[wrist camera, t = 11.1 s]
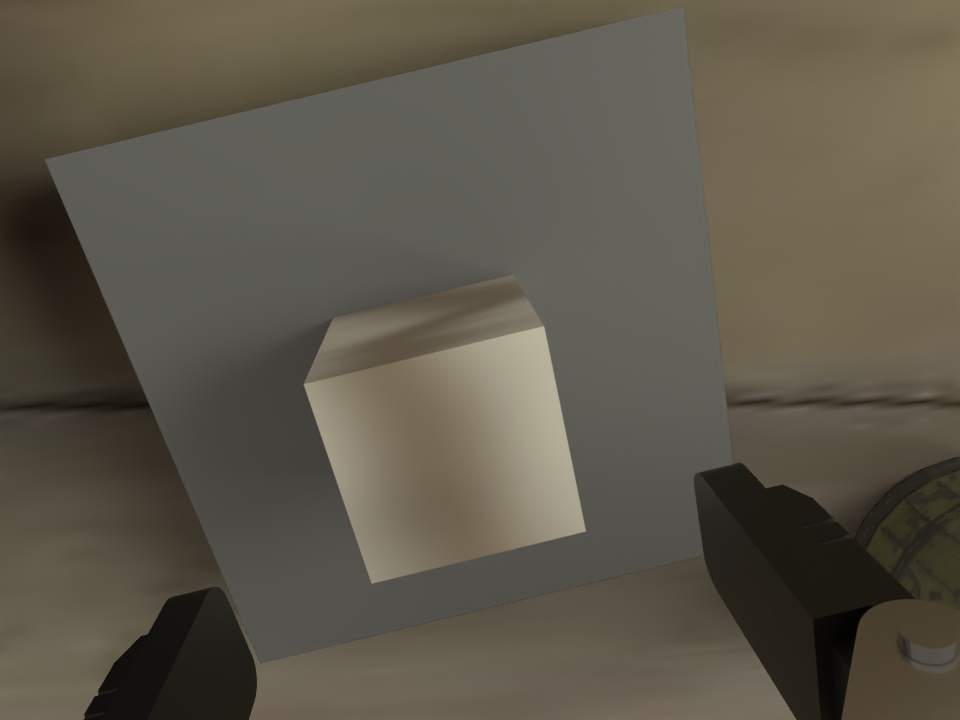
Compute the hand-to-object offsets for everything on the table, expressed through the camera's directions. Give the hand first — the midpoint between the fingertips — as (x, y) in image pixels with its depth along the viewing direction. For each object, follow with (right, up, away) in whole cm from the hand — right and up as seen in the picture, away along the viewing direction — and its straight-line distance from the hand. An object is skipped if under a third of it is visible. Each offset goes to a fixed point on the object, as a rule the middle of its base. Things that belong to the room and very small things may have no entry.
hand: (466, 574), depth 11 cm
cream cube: (-1, +3, +8) cm, 9 cm away
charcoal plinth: (-1, +4, +12) cm, 13 cm away
